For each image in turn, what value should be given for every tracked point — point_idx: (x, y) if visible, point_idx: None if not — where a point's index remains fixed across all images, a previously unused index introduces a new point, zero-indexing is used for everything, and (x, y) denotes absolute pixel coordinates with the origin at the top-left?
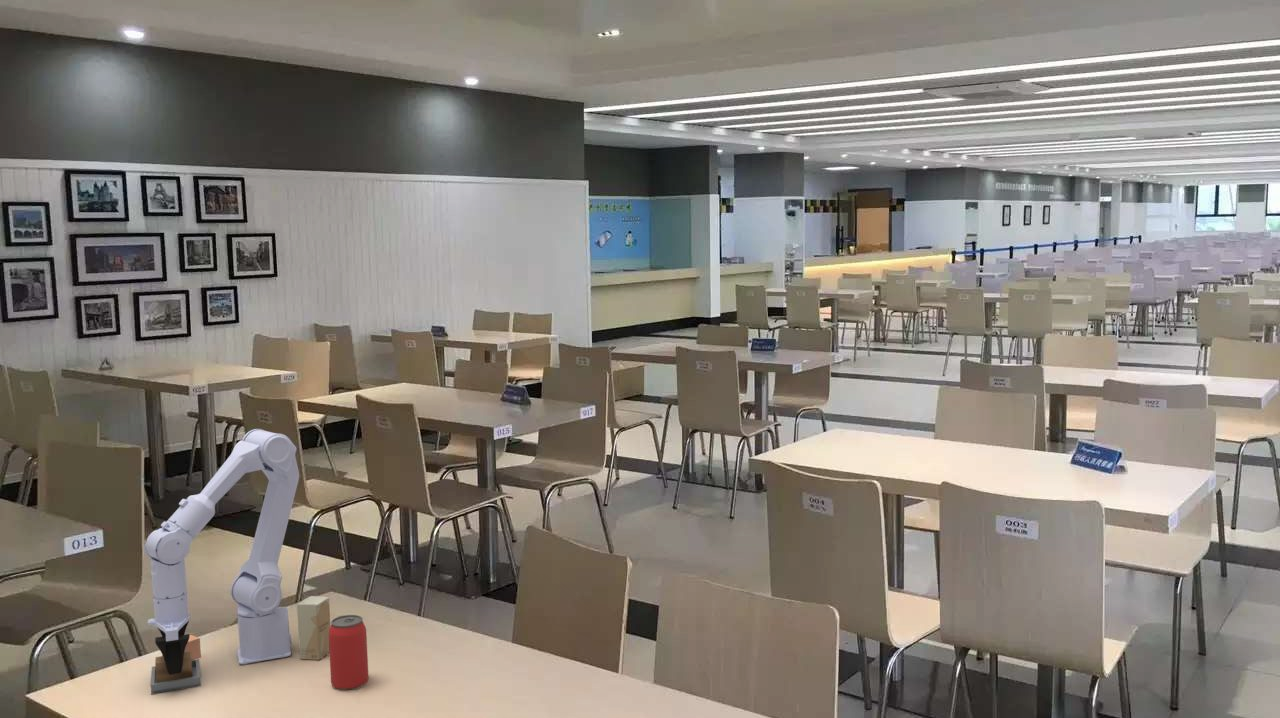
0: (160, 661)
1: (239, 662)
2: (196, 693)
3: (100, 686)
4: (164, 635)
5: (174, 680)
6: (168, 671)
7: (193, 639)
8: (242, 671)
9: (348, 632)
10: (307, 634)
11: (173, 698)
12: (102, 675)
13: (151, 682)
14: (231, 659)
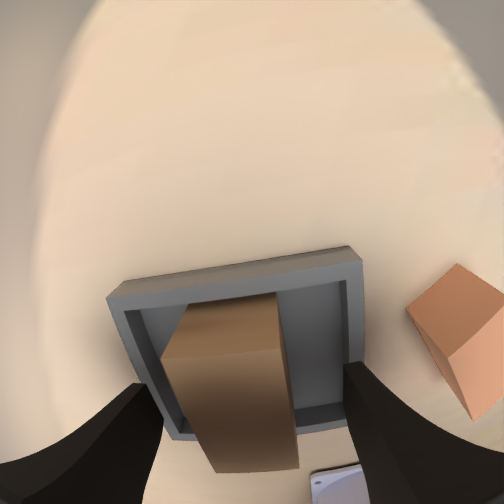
0: (187, 382)
1: (313, 477)
2: None
3: (282, 30)
4: (391, 469)
5: (147, 379)
6: (122, 392)
7: (476, 408)
8: (265, 477)
9: None
10: None
11: (92, 353)
12: (409, 30)
13: (134, 297)
14: None
